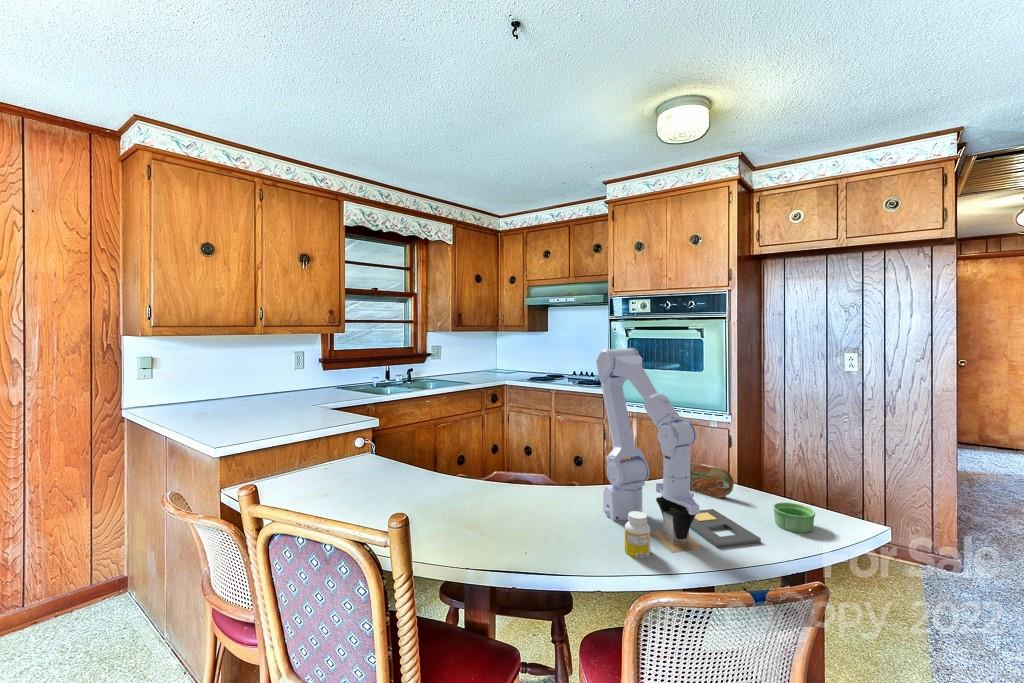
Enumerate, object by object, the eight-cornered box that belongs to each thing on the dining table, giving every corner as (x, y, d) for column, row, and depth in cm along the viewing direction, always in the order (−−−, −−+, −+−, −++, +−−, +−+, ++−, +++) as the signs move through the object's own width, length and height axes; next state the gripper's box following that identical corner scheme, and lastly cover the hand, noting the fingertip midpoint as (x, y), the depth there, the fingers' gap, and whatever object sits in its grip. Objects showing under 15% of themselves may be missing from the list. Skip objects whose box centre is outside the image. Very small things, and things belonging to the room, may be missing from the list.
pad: (671, 559, 102) (672, 552, 102) (648, 538, 112) (648, 532, 112) (705, 555, 104) (705, 548, 103) (679, 535, 113) (679, 528, 113)
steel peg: (672, 545, 105) (672, 518, 105) (663, 536, 109) (663, 511, 109) (689, 543, 106) (689, 516, 106) (679, 535, 110) (679, 509, 110)
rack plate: (716, 554, 104) (717, 542, 103) (674, 522, 120) (674, 512, 120) (760, 549, 106) (760, 537, 106) (713, 518, 122) (713, 508, 122)
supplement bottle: (643, 567, 99) (643, 522, 98) (620, 559, 102) (620, 515, 102) (654, 557, 103) (654, 513, 102) (631, 550, 106) (631, 507, 106)
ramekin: (824, 532, 114) (824, 514, 114) (790, 536, 113) (791, 517, 112) (796, 517, 123) (796, 501, 123) (764, 520, 121) (765, 503, 121)
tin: (680, 488, 145) (680, 460, 145) (685, 485, 147) (685, 458, 147) (730, 501, 134) (730, 472, 134) (734, 498, 136) (735, 469, 136)
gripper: (712, 483, 101) (711, 546, 101) (674, 463, 115) (674, 519, 115) (682, 486, 99) (681, 550, 100) (648, 465, 113) (647, 522, 114)
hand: (676, 533), depth 107 cm, fingers closed on steel peg, 4 cm apart
